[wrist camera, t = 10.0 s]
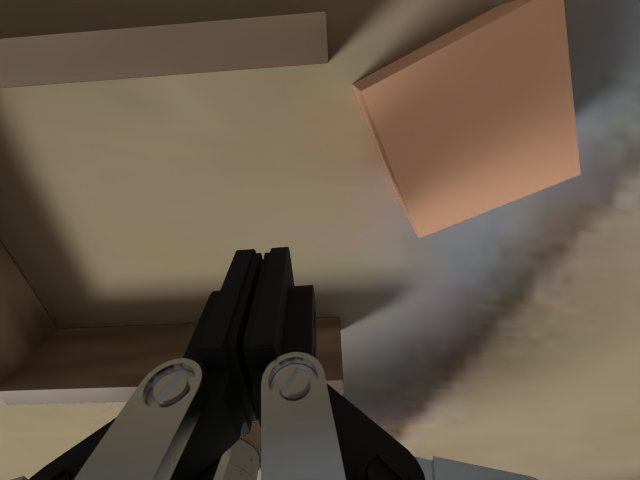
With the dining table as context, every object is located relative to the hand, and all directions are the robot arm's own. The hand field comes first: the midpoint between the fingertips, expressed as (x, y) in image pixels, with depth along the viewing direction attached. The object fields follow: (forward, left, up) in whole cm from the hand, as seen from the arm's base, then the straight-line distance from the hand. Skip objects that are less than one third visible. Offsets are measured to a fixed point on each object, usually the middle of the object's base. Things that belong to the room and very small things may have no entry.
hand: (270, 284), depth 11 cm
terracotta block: (-4, +7, -7) cm, 11 cm away
